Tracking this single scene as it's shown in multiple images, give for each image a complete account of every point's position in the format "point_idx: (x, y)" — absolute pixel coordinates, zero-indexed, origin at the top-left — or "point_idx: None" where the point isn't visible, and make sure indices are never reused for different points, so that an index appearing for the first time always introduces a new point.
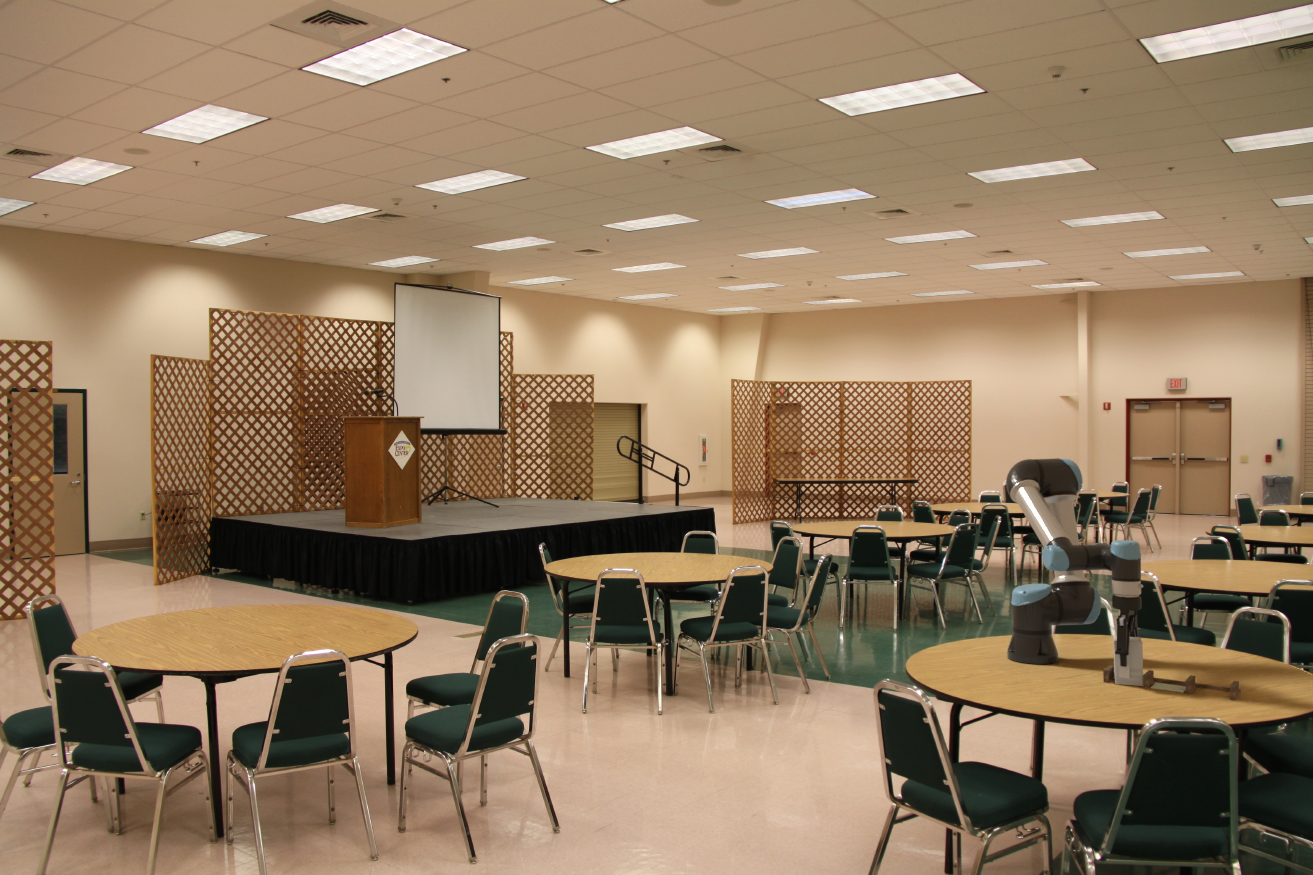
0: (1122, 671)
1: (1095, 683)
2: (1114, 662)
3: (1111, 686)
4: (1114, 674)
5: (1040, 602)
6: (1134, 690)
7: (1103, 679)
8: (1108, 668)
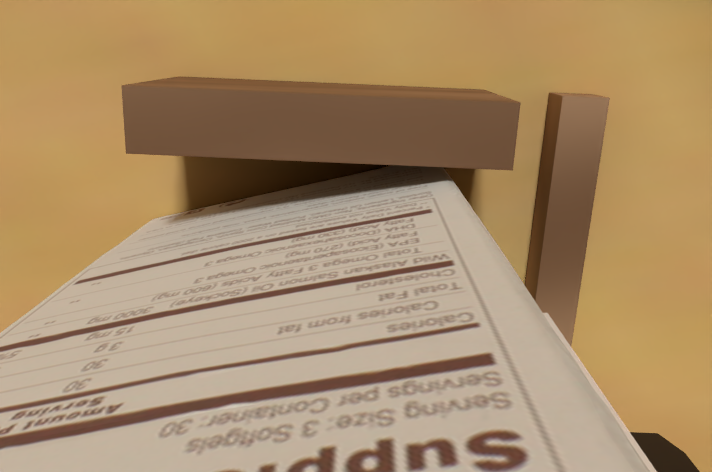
0: None
1: (45, 5)
2: (63, 302)
3: (27, 196)
4: (304, 194)
5: None
6: None
7: (169, 78)
8: (266, 136)
